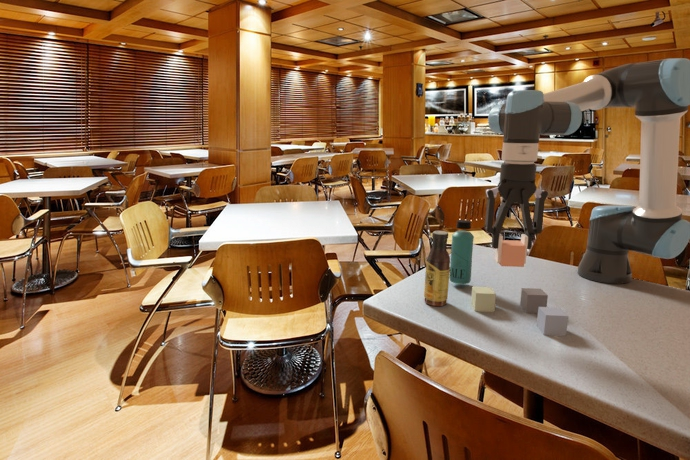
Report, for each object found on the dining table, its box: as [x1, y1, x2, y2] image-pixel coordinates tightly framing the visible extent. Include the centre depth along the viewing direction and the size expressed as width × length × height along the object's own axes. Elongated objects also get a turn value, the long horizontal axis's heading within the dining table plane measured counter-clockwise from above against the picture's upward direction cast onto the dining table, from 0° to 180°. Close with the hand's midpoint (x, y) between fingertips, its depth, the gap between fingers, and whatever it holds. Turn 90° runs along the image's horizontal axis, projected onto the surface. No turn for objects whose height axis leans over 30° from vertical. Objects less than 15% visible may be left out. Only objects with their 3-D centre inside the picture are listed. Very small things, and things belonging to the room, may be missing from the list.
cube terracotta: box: [498, 239, 526, 268], centre depth 107 cm, size 5×5×5 cm
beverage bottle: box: [449, 219, 475, 285], centre depth 136 cm, size 6×7×20 cm
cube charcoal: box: [519, 287, 549, 314], centre depth 120 cm, size 5×5×5 cm
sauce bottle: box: [423, 230, 451, 307], centre depth 122 cm, size 7×6×20 cm
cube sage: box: [470, 286, 497, 313], centre depth 121 cm, size 5×5×5 cm
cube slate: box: [536, 306, 569, 337], centre depth 107 cm, size 5×5×5 cm
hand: (509, 261), depth 108 cm, fingers closed on cube terracotta, 5 cm apart
